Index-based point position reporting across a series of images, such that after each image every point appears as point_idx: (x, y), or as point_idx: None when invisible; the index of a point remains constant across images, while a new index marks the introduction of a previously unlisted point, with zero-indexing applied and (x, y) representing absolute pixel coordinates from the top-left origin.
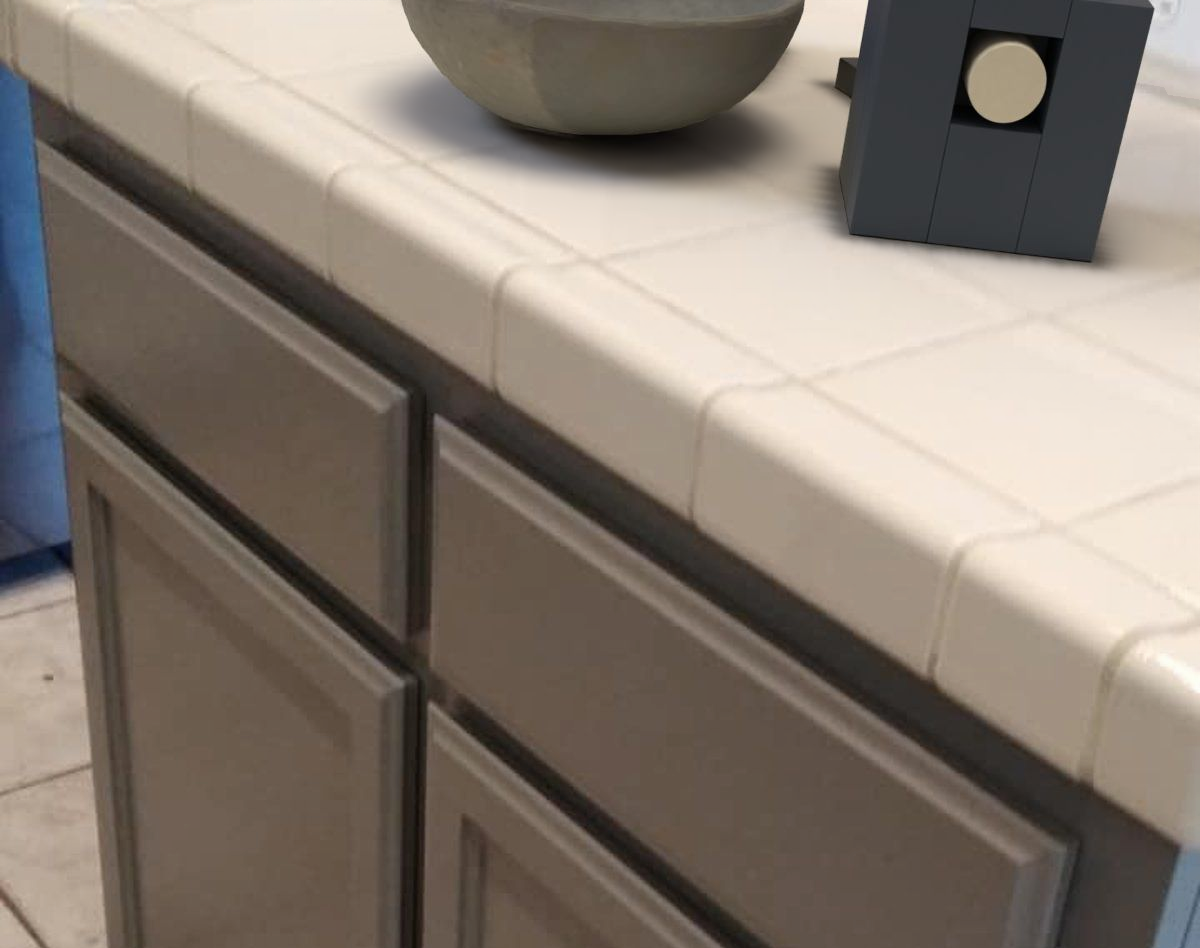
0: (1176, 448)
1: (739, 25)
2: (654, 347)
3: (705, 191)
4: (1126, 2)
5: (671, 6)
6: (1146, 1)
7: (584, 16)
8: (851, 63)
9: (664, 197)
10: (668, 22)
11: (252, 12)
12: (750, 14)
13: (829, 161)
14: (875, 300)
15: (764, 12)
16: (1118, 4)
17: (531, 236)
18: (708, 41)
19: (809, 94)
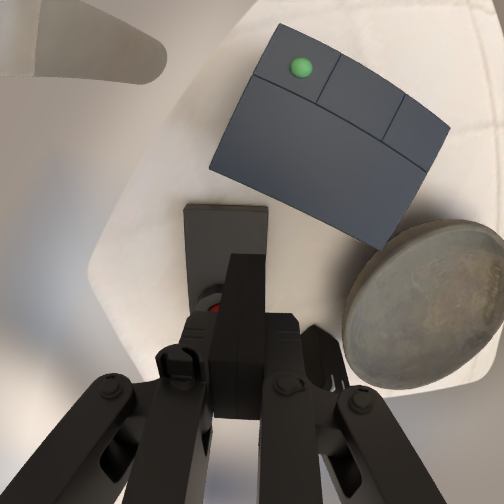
0: None
1: (441, 226)
2: (501, 49)
3: (420, 187)
4: (297, 37)
5: (364, 345)
6: (274, 39)
7: (502, 240)
8: None
9: (440, 183)
10: (478, 226)
11: (442, 388)
12: (433, 235)
13: None
14: (413, 46)
15: (421, 240)
16: (307, 36)
17: (501, 155)
18: (454, 220)
19: (282, 312)
